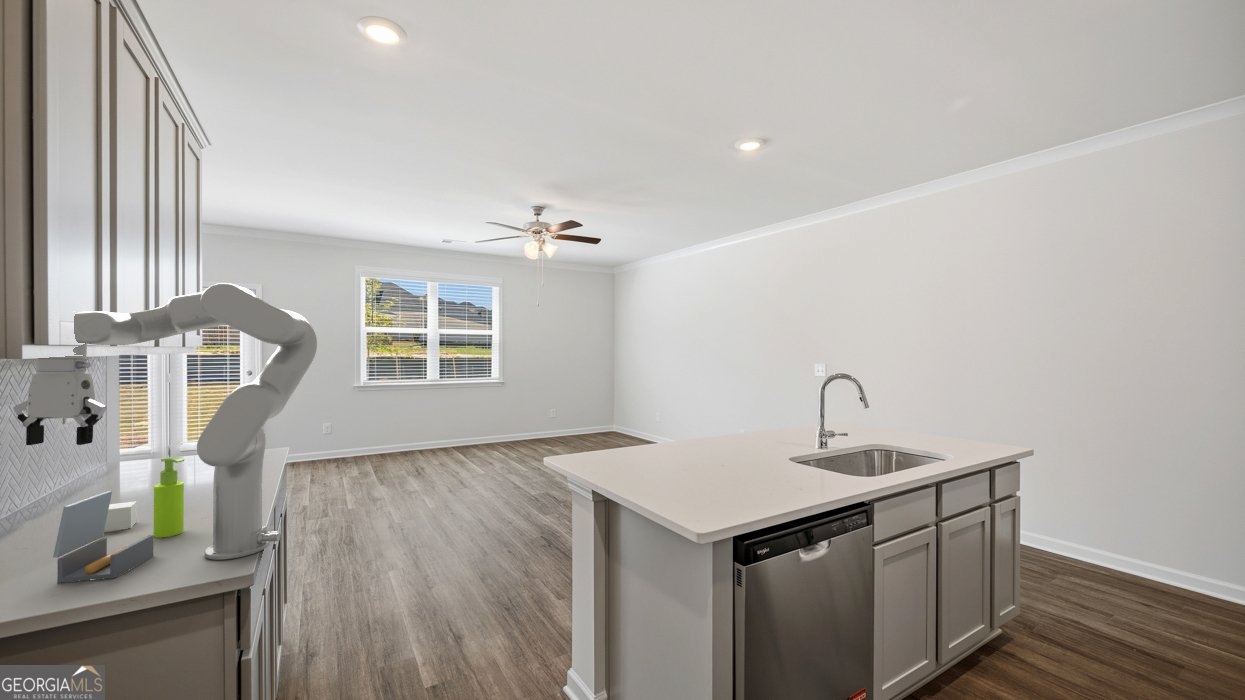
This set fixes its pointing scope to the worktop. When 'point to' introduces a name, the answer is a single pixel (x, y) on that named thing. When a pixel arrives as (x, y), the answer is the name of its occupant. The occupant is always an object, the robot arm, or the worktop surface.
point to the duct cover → (82, 523)
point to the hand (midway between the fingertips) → (59, 444)
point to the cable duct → (102, 560)
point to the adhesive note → (121, 516)
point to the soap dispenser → (169, 502)
